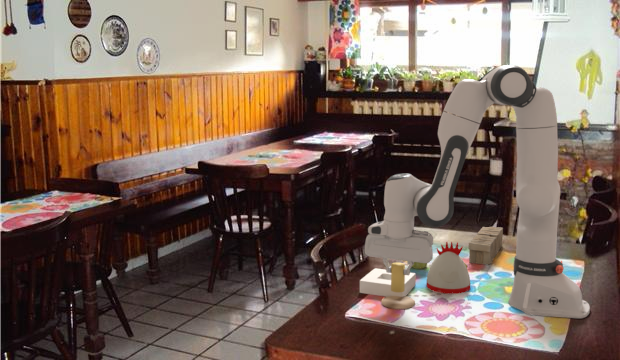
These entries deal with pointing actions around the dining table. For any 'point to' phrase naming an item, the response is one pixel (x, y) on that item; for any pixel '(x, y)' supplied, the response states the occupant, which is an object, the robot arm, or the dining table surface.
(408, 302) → the coaster
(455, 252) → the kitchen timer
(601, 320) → the dining table surface
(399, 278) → the dowel
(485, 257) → the block tower
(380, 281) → the pocket block
